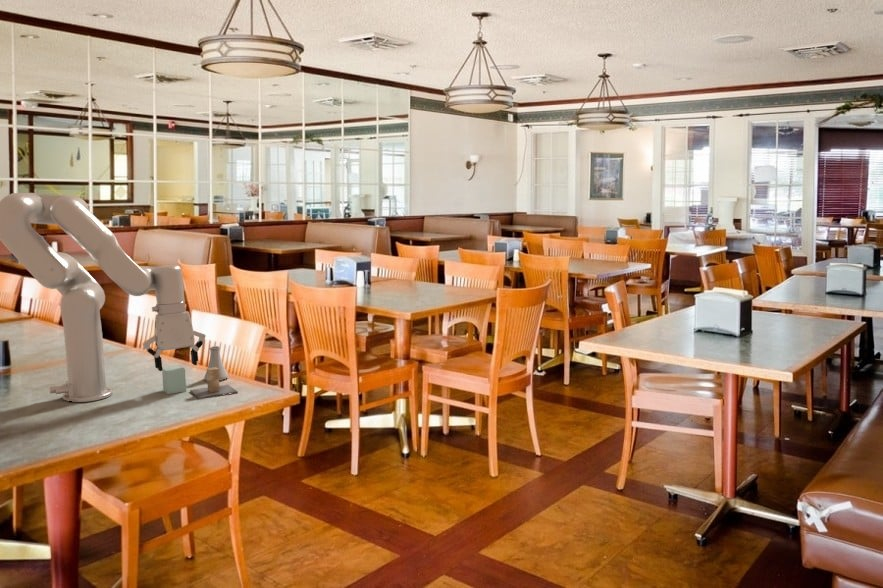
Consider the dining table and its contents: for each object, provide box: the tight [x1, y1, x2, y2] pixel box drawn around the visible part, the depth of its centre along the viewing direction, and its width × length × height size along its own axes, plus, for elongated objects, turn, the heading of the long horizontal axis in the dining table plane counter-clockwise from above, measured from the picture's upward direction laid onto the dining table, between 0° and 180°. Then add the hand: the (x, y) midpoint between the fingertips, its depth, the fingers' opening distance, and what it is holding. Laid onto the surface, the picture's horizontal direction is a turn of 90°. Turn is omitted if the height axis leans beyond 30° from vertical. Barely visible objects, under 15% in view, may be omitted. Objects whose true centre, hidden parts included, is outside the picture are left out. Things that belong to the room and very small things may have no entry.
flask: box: [203, 345, 229, 382], centre depth 232 cm, size 7×7×10 cm
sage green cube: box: [161, 365, 187, 395], centre depth 219 cm, size 5×5×7 cm
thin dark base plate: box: [189, 367, 239, 400], centre depth 217 cm, size 11×9×7 cm
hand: (177, 367), depth 219 cm, fingers open, 9 cm apart
